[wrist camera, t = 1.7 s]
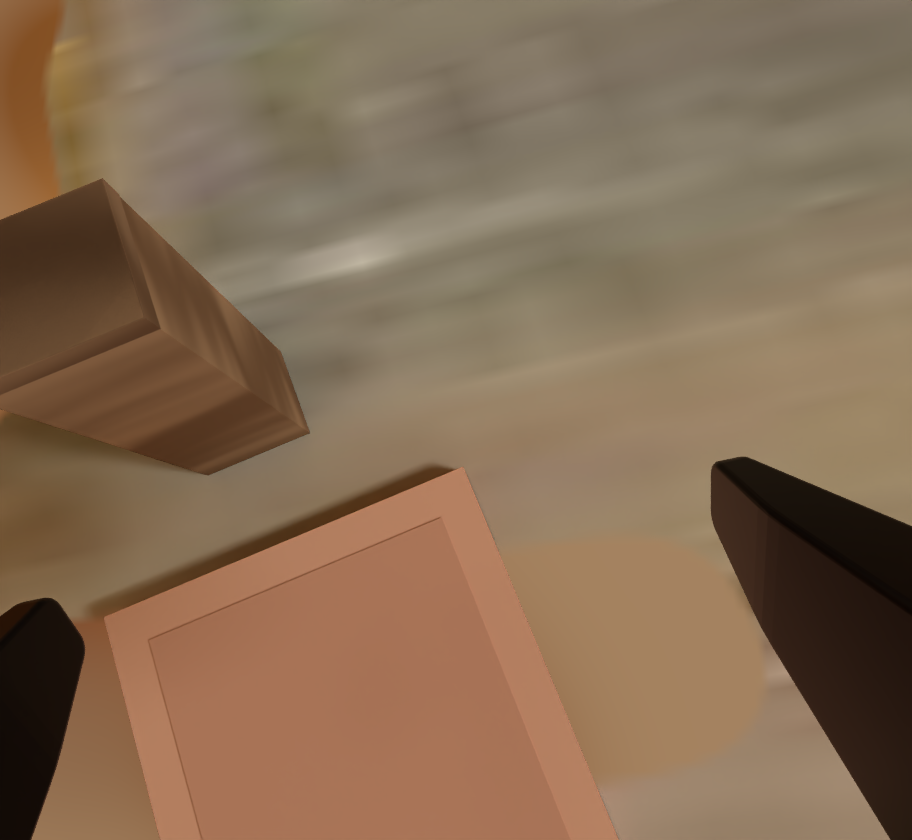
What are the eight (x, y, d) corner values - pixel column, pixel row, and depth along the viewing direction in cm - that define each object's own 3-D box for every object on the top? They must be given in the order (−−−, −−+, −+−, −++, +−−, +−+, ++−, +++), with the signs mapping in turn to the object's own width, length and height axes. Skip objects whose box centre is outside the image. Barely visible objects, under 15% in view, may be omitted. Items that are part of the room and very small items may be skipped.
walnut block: (310, 433, 23) (145, 318, 13) (207, 476, 23) (-46, 396, 13) (281, 351, 24) (102, 178, 14) (181, 392, 24) (-77, 251, 14)
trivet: (628, 862, 20) (635, 879, 18) (230, 1034, 19) (214, 1060, 18) (465, 471, 23) (462, 466, 22) (121, 615, 22) (102, 617, 21)
